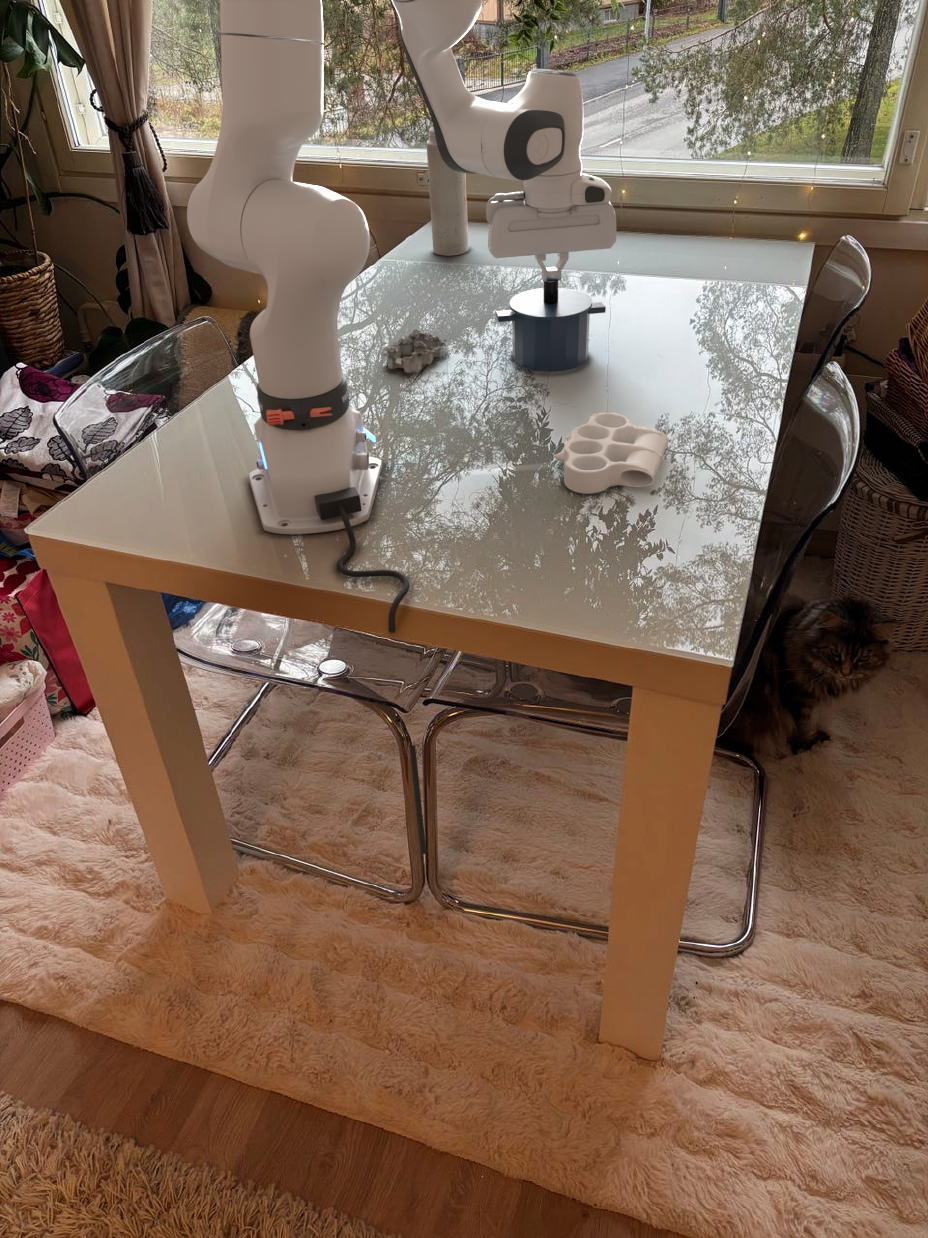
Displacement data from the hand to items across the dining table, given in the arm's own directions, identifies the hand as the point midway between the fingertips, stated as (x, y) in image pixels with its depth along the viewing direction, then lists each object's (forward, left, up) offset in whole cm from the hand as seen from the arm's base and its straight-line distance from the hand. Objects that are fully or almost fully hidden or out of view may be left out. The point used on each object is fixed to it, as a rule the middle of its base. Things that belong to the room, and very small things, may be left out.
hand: (551, 279), depth 151 cm
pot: (0, 0, -14) cm, 14 cm away
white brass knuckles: (-37, -1, -14) cm, 39 cm away
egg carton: (+4, +23, -14) cm, 27 cm away
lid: (0, 0, -4) cm, 4 cm away
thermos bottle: (+64, +10, -14) cm, 66 cm away
